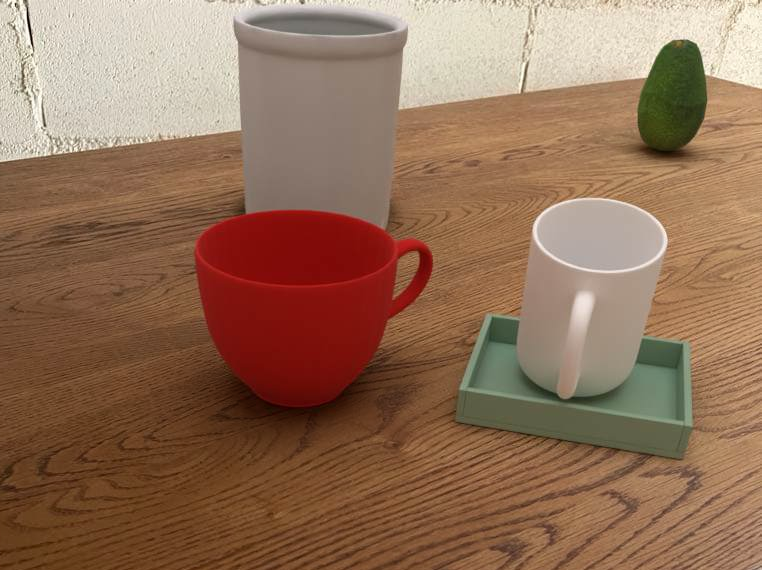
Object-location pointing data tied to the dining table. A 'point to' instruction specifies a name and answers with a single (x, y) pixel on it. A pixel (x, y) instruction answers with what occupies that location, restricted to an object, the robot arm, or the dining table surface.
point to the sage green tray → (581, 414)
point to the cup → (588, 294)
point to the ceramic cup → (301, 298)
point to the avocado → (673, 97)
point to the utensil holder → (319, 108)
